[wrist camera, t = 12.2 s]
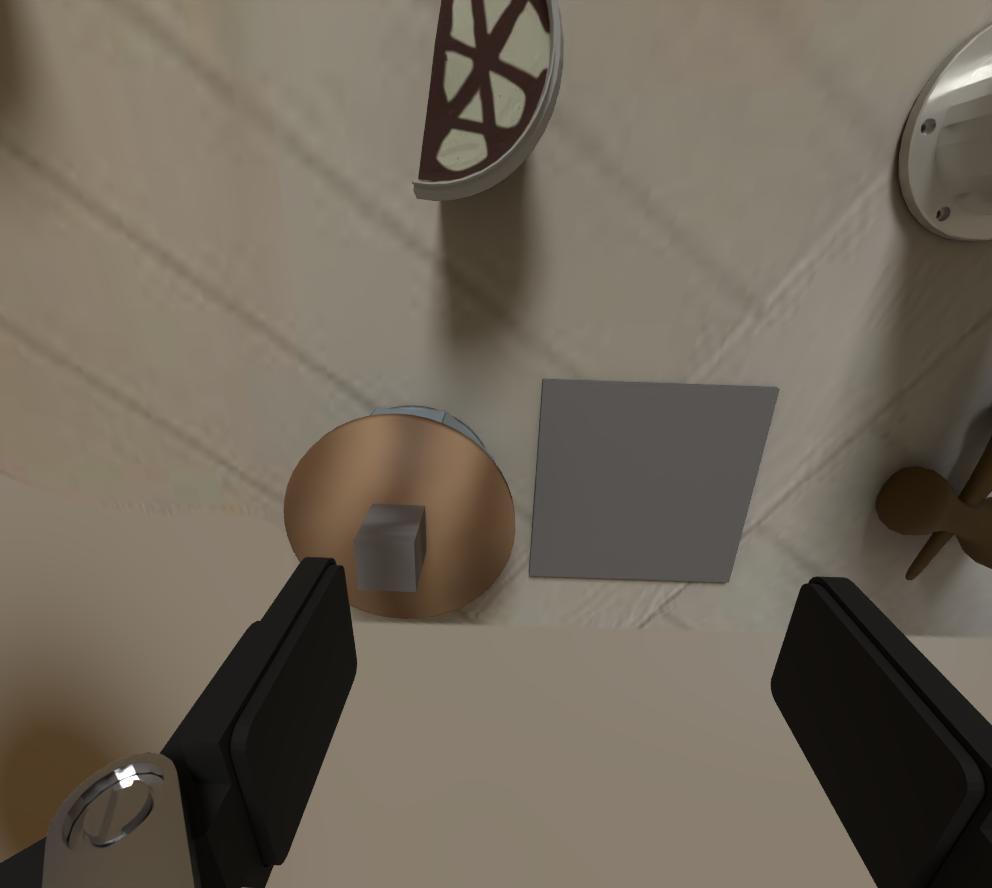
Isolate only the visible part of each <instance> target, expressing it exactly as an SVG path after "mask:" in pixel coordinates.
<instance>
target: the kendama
mask: <svg viewBox="0 0 992 888" xmlns="http://www.w3.org/2000/svg"><path fill="white" fill-rule="evenodd" d="M991 492H992V436H991V438H990V441H989V443H988V445H987V447H986V449H985V451H984V453H983V455H982V456H981V458H980V460H979V462H978V464H977V466H976V468H975V469H974V471H973V473H972V475H971V477H970V478H969V480H968V482H967V483H966V485H965V487H964V488H963V490H962V491H961V493H960V495H959V496H958V498H957V496H956V495H955V493H954V492H953V490H952V488H951V486H950V484H949V483H948V481H947V480H946V479H945V478H943V477H942V476H941V475H939V474H938V473H937V472H935V471H934V470H931V469H927V468H923V467H918V466H917V467H909V468H904V469H902V470H900V471H899V472H897V473H895V474H894V475H892V477H891V478H890V479H889V480H888V481H887V482H886V484H885V485H884V486H883V488H882V490H881V491H880V493H879V495H878V497H877V503H876V511H877V514H878V516H879V519H880V520H881V521H882V522H883V523H884V524H885V525H886V526H887V527H888V528H889V529H890V530H893V531H895V532H897V533H900V534H902V535H924V534H929V533H933V532H934V533H933V534H932V536H931V537H930V539H929V540H928V541H927V543H926V544H925V546H924V547H923V548H922V550H921V551H920V553H919V554H918V556H917V557H916V558H915V560H914V561H913V563H912V565H911V566H910V568H909V569H908V571H907V573H906V579H907V580H913V579H914V578H916V577H917V576H918V575H919V574H920V573H921V572H922V570H923V569H924V568H925V567H926V566H927V565H928V564H929V563H930V561H931V560H932V559H933V558H934V557H935V555H936V554H937V553H938V552H939V551H940V550H941V548H942V547H943V546H944V545H945V544H946V542H947V541H948V540H949V539H950V538H951V536H952V535H953V534H955V535H956V537H957V539H958V541H959V543H960V545H961V547H962V549H963V551H964V552H965V553H966V554H967V555H968V556H969V557H971V558H972V559H973V560H974V561H975V562H977V563H979V564H981V565H984V566H986V567H989V568H991V569H992V497H989V498H986V497H987V496H988V495H989V494H990V493H991ZM985 498H986V499H985Z"/></svg>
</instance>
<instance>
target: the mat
mask: <svg viewBox="0 0 992 888" xmlns="http://www.w3.org/2000/svg"><path fill="white" fill-rule="evenodd" d="M778 393H779V388H777V387H759V386H730V385H701V384H673V383H644V382H615V381H587V380H558V379H543V383H542V397H541V411H540V425H539V439H538V454H537V468H536V482H535V496H534V510H533V524H532V538H531V552H530V566H529V576H551V577H581V578H610V579H640V580H670V581H700V582H729V580H730V576H731V572H732V569H733V565H734V561H735V557H736V553H737V550H738V546H739V542H740V538H741V534H742V530H743V527H744V523H745V519H746V515H747V511H748V507H749V504H750V500H751V496H752V492H753V488H754V485H755V481H756V477H757V473H758V469H759V465H760V462H761V458H762V454H763V450H764V446H765V442H766V439H767V435H768V431H769V427H770V423H771V420H772V416H773V412H774V408H775V404H776V400H777V397H778Z"/></svg>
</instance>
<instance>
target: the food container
mask: <svg viewBox="0 0 992 888" xmlns="http://www.w3.org/2000/svg"><path fill="white" fill-rule="evenodd" d="M562 69H563V31H562V22H561V14H560V10H559V6H558V2H557V0H441V7H440V14H439V20H438V27H437V34H436V40H435V47H434V56H433V65H432V74H431V83H430V91H429V99H428V106H427V114H426V122H425V130H424V137H423V145H422V153H421V161H420V169H419V177H418V179H419V180H420V181H415V180H412V183H413V184H414V187H413V190H414V193H415V195H416V198H417V199H424V200H432V201H443V200H456V199H460V198H465V197H470V196H473V195H475V194H478V193H480V192H483V191H485V190H488V189H489V188H491V187H493V186H494V185H496V184H498V183H499V182H501V181H502V180H504V179H505V178H507V177H508V176H509V175H510V174H511V173H512V172H513V171H515V170H516V169H517V168H518V167H519V166H520V165H521V164H522V163H523V162H524V160H525V159H526V158H527V157H528V156H529V154H530V153H531V152H532V151H533V149H534V148H535V146H536V145H537V143H538V141H539V140H540V138H541V136H542V135H543V133H544V131H545V129H546V127H547V125H548V122H549V120H550V118H551V115H552V113H553V110H554V107H555V103H556V100H557V96H558V93H559V89H560V83H561V76H562Z"/></svg>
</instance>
